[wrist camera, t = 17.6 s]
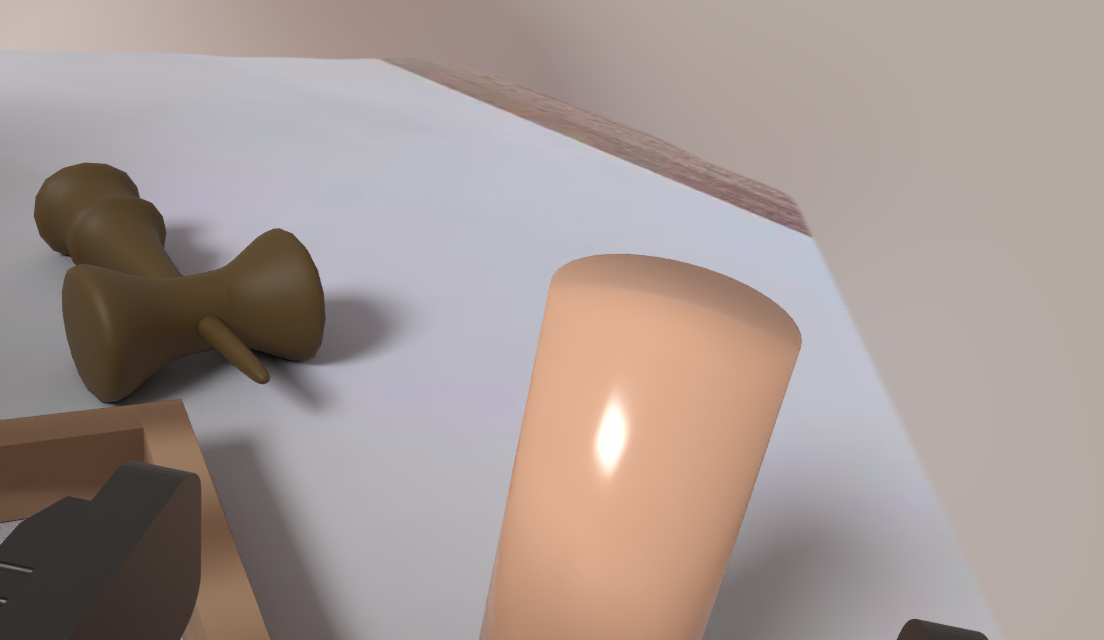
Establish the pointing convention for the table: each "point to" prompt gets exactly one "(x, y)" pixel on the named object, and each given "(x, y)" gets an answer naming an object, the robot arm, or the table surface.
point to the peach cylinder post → (636, 450)
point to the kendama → (167, 288)
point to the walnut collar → (88, 463)
